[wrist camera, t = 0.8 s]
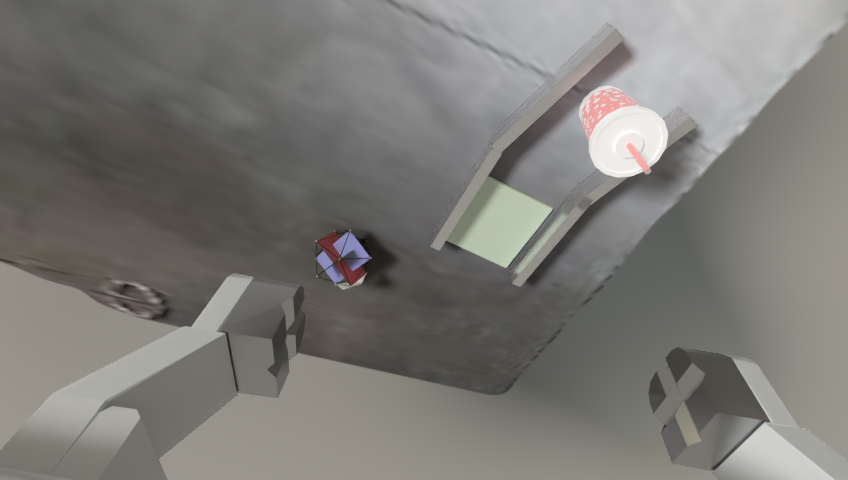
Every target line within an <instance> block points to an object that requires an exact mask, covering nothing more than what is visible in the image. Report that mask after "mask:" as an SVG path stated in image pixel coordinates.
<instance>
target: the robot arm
mask: <svg viewBox="0 0 848 480" xmlns="http://www.w3.org/2000/svg"><path fill="white" fill-rule="evenodd" d="M303 301H304V288H303V287H302V286H301V285H296V284H291V283H286V282H280V281H275V280H270V279H265V278H259V277H251V276H246V275H241V274H236V273H233V274H232V275H230V276H228V277H227V278H226V280H225V281H224V282H223V284H222V285H221V287H220V288H219V289H218V291H217V292H216V293H215V295H214V296H213V298H212V299H211V300H210V302H209V303H208V304H207V306H206V307H205V309H204V310H203V311H202V313H201V314H200V316H199V317H198V318H197V320H196V321H195V322H194V324H193V325H192V327H186V326H183V327H181V328H179V329H177V330H175V331H174V332H172V333H170V334H168V335H166V336H164V337H162V338H160V339H158V340H156V341H154V342H152V343H150V344H148V345H146V346H144V347H142V348H140V349H138V350H136V351H134V352H132V353H130V354H128V355H127V356H125V357H123V358H121V359H119V360H117V361H115V362H113V363H111V364H109V365H107V366H105V367H103V368H101V369H100V370H97V371H95V372H93V373H91V374H89V375H87V376H85V377H83V378H82V379H80V380H78V381H76V382H74V383H72V384H70V385H68V386H66V387H64V388H62V389H60V390H58V391H56V392H54V393H52V395H51V396H50V397H49V398H48V399H47V400H46V401H45V402H44V403H43V404H42V405H41V406H40V408H39V409H38V410H37V411H36V412H35V413H34V414H33V415H32V416H31V417H30V418H29V420H28V421H27V422H26V423H25V424H24V425H23V426H22V427H21V428H20V429H19V430H18V431H17V432H16V434H15V435H14V436H13V437H12V438H11V439H10V440H9V441H8V442H7V443H6V445H4V447H3V448H2V449H1V450H0V480H167V478H166V475H165V473H164V471H163V468H162V466H161V464H160V461H159V458H160V457H161V456H163V455H164V454H165V453H167V452H168V451H169V450H170V449H171V448H172V447H174V446H175V445H176V444H177V443H179V442H180V441H181V440H183V439H184V438H185V437H186V436H187V435H189V434H190V433H191V432H192V431H194V430H195V429H196V428H197V427H199V425H201V424H202V423H203V422H205V421H206V420H207V419H208V418H210V417H211V416H212V415H213V414H215V413H216V412H217V411H218V410H219V409H221V408H222V407H223V406H224V405H226V404H227V403H228V402H229V401H231V400H232V399H233V398H234V397H235V396H237V393H244V394H252V395H259V396H266V397H273V398H278V397H279V394H280V392H281V390H282V388H283V385H284V383H285V381H286V378H287V376H288V374H289V360H290V359H291V358H293V357H294V356H296V355H297V352H298V350H299V347H300V345H301V341H302V337H303V333H304V327H305V313H304V312H303V311H302V309H301V308H300V307H301V305H302V303H303ZM666 361H667V364H668V366H667V367H665V368H663V369H661V370H658V371H657V372H656V373H655V375H654V376H653V378H652V380H651V382H650V388H649V400H650V405H651V408H652V411H653V413H654V415H655V416H656V417H657V418H658V419H659V420H660V421H661V422H662V423H663V424H664V426H663V429H662V431H661V435H662V438H663V440H664V443H665V446H666V448H667V451H668V454H669V456H670V459H671V462H672V463H674V464H680V465H685V466H690V467H695V468H700V469H705V470H711V471H714V472H713V474H714V476H715V477H716V478H717V479H718V480H848V461H847V460H846V459H845V458H843V457H842V456H841V455H840V454H838V453H837V452H836V451H834V450H833V449H832V448H831V447H829V446H828V445H827V444H825V443H824V442H823V441H821V440H820V439H819V438H818V437H816V436H815V435H814V434H813V433H811V432H810V431H809V430H807V429H804V428H799V427H798V425H797V424H796V422H795V421H794V419H793V418H792V416H791V415H790V413H789V412H788V410H787V409H786V407H785V406H784V404H783V403H782V401H781V400H780V398H779V397H778V395H777V393H776V392H775V390H774V389H773V387H772V386H771V384H770V383H769V381H768V380H767V378H766V377H765V375H764V374H763V372H762V371H761V369H760V368H759V366H758V365H757V364H756V363H755V362H754V361H753V360H751V359H750V358H746V357H738V356H732V355H726V354H725V355H722V354H719V353H712V352H705V351H699V350H693V349H686V348H680V347H677V348H675V349H673V350H672V351H671V352H670V353H669V354H668V356H667V357H666Z"/></svg>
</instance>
